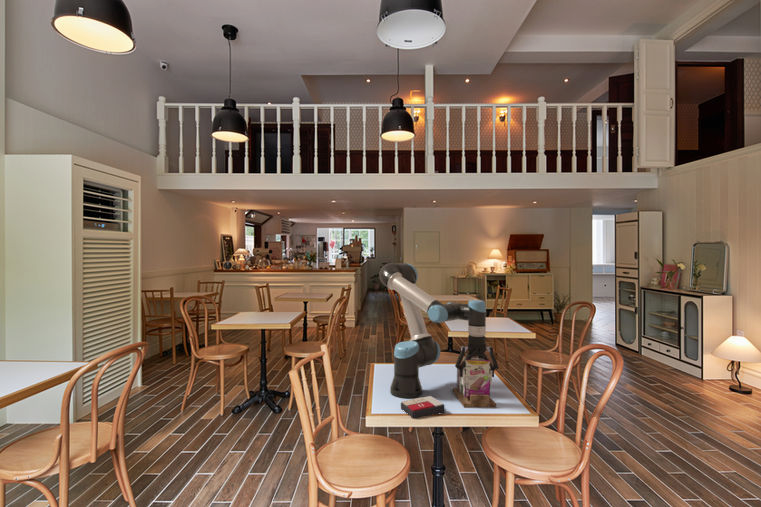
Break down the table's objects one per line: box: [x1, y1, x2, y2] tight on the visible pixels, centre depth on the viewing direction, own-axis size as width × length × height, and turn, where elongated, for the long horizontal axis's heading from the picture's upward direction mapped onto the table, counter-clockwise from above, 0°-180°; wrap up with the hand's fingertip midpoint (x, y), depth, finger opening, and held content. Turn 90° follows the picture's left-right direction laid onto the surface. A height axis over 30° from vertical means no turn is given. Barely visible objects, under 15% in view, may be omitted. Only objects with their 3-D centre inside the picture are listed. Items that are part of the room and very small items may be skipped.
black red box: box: [400, 395, 446, 419], centre depth 153 cm, size 11×4×15 cm
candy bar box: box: [463, 357, 491, 398], centre depth 162 cm, size 11×5×16 cm, turn 84°
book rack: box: [452, 362, 497, 408], centre depth 168 cm, size 14×21×14 cm, turn 2°
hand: (476, 384), depth 162 cm, fingers closed on candy bar box, 11 cm apart
